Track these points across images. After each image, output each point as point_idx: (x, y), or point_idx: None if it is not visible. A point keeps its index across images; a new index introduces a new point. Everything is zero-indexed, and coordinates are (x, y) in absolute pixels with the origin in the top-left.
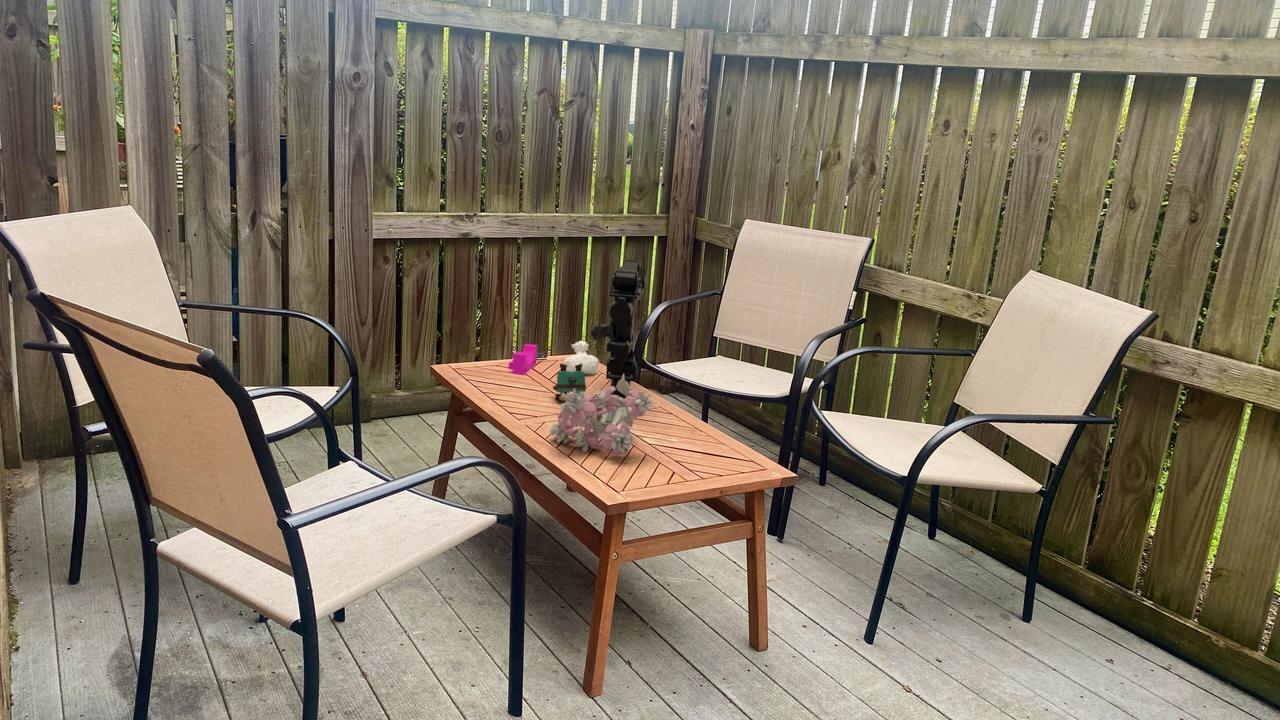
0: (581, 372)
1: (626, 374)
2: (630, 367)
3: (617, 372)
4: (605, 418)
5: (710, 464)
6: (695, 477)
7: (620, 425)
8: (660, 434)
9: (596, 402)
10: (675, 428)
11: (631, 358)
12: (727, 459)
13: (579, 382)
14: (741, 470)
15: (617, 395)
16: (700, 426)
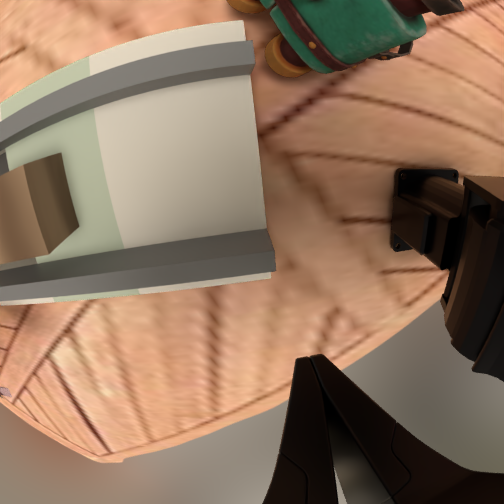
0: (383, 14)
1: (449, 298)
2: (459, 344)
3: (462, 259)
4: (65, 246)
5: (55, 419)
6: (7, 397)
7: (54, 300)
8: (118, 373)
9: (25, 229)
10: (187, 393)
11: (495, 370)
12: (90, 436)
13: (320, 24)
14: (70, 439)
15: (264, 266)
16: (235, 420)
